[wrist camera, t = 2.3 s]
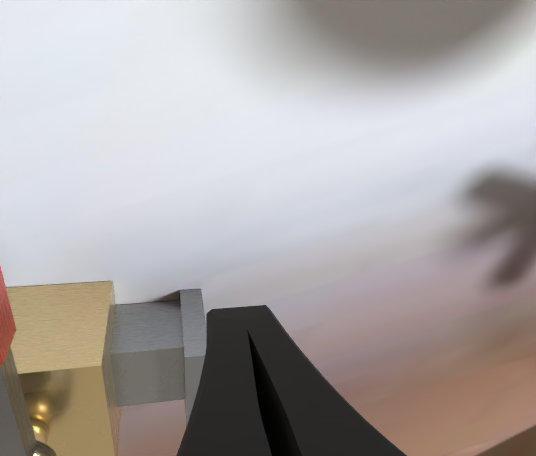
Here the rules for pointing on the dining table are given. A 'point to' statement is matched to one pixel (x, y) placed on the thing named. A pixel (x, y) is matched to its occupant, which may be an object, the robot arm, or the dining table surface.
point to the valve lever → (14, 394)
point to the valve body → (101, 360)
